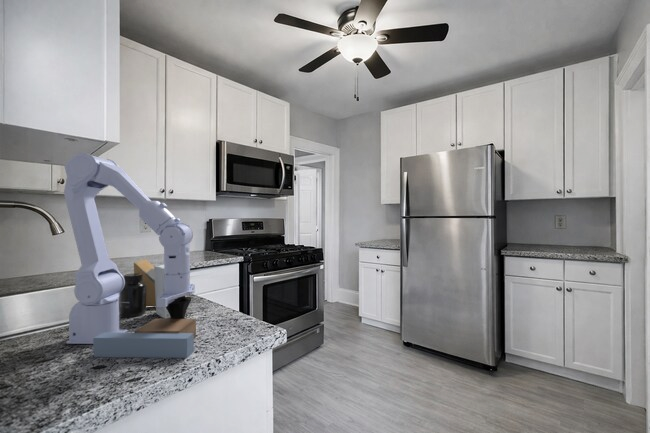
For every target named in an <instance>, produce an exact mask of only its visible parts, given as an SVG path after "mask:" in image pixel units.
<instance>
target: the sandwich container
mask: <svg viewBox="0 0 650 433" xmlns="http://www.w3.org/2000/svg"><path fill="white" fill-rule="evenodd" d="M154 266H155V265H153V264H152V263H151V262H150V261H149V260H148V259H146V258H144V259H141V260H137V261H135V262H133V273H141V274H143V280H142V282H144V283H145V284H146V306H156V298H155V275H154ZM185 297H188V295H185Z"/></svg>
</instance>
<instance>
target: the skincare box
mask: <svg viewBox="0 0 650 433" xmlns="http://www.w3.org/2000/svg"><path fill="white" fill-rule="evenodd" d="M153 266H154V275H155V298H156V307H155V314H156V315H158V316H159V317H161V319H171V317H170V314H169V312H168V310H167V309H166V307H157V298H159V297H160V296H161V295H162V294H163V292H164V264H159V265H153Z"/></svg>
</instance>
